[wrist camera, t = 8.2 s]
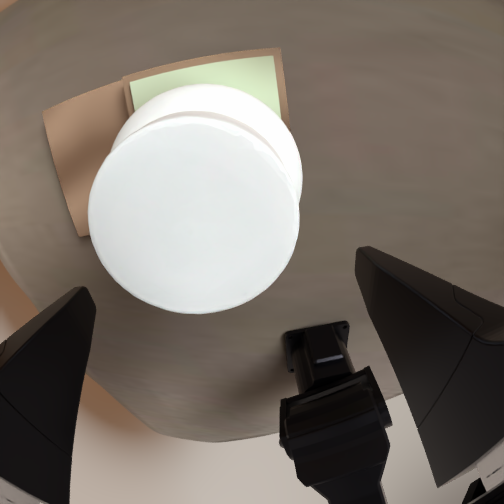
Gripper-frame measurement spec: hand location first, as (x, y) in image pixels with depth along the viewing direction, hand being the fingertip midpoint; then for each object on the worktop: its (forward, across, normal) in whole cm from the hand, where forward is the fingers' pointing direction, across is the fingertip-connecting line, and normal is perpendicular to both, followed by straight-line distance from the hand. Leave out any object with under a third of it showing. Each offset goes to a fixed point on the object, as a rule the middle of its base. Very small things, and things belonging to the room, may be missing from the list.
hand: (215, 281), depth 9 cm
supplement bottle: (+10, 0, -3) cm, 10 cm away
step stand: (+13, +4, -3) cm, 13 cm away
